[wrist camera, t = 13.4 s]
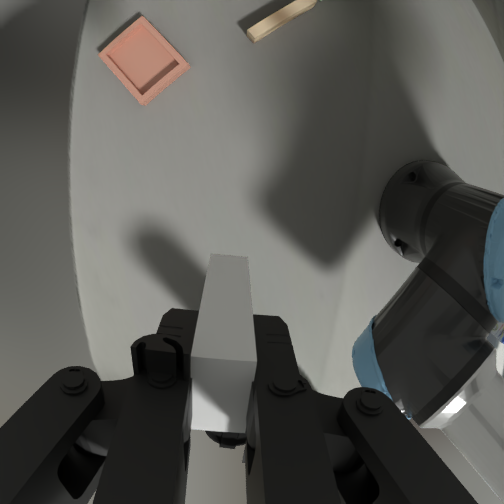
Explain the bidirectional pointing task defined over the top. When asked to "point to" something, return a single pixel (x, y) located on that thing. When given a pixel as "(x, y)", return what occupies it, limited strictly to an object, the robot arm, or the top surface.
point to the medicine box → (499, 332)
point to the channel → (279, 19)
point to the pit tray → (143, 60)
